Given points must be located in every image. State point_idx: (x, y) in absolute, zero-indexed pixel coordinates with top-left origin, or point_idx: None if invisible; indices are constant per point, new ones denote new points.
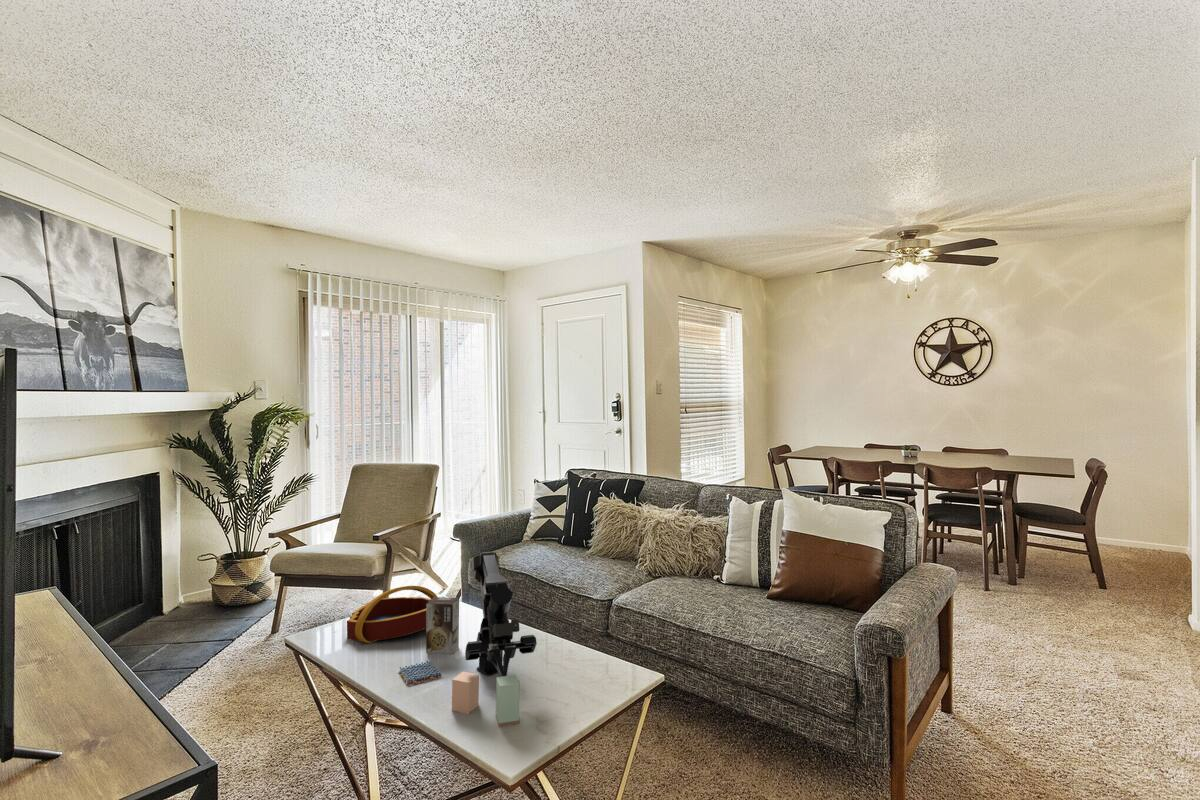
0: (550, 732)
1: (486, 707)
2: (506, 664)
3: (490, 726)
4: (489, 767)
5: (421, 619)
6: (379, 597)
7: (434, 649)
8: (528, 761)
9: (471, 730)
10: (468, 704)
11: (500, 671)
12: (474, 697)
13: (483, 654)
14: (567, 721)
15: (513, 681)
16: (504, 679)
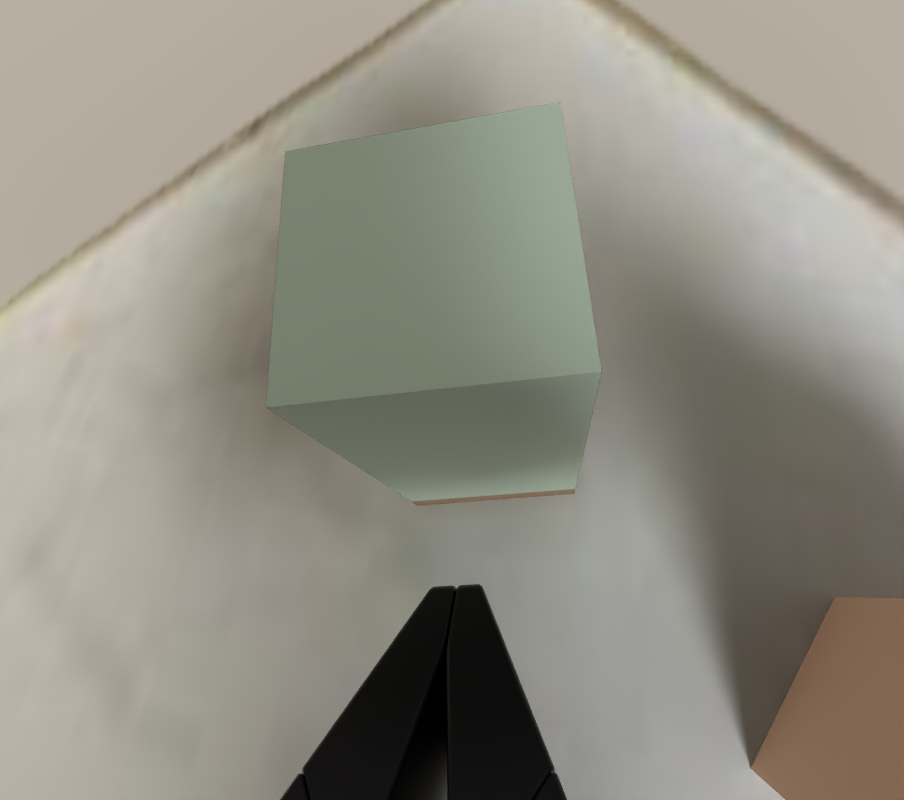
0: (253, 245)
1: (661, 679)
2: (345, 770)
3: (617, 361)
4: (617, 6)
5: None
6: None
7: None
8: (421, 39)
9: (764, 332)
10: (886, 600)
11: (511, 665)
12: (842, 717)
13: None
14: (125, 338)
15: (348, 204)
16: (469, 274)
